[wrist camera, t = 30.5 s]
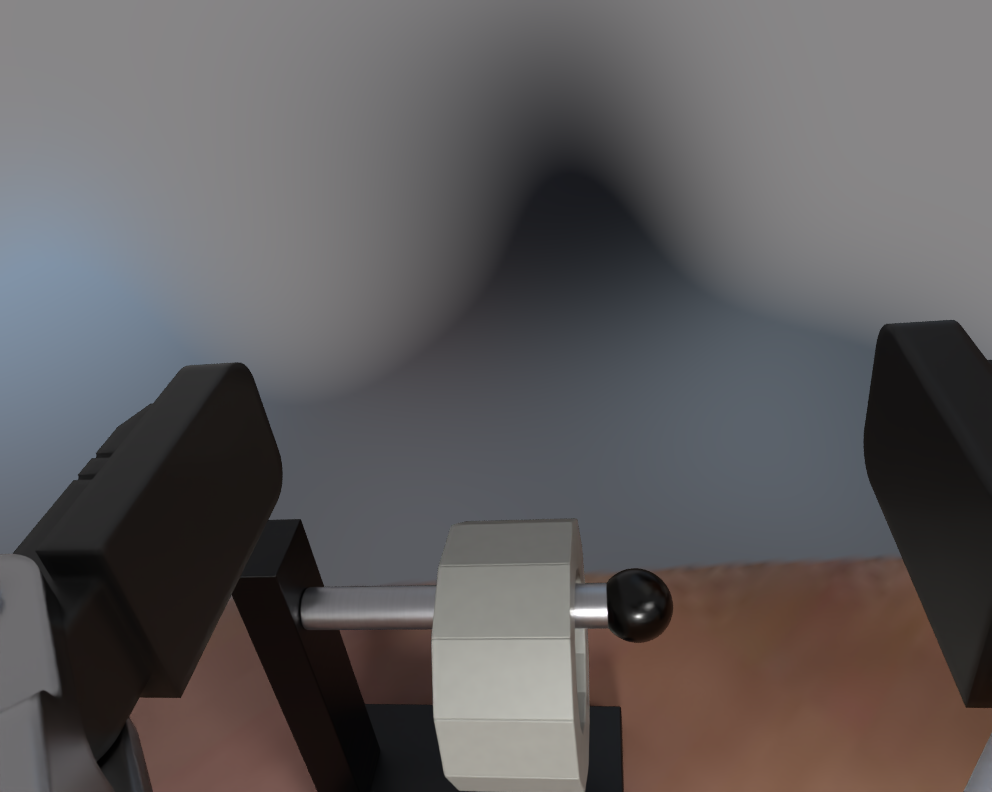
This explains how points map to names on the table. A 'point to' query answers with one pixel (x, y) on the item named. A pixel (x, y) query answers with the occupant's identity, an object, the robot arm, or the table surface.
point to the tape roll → (511, 658)
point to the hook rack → (325, 610)
